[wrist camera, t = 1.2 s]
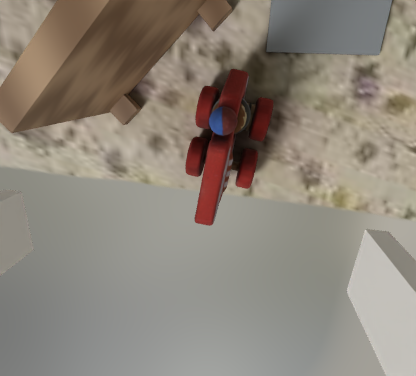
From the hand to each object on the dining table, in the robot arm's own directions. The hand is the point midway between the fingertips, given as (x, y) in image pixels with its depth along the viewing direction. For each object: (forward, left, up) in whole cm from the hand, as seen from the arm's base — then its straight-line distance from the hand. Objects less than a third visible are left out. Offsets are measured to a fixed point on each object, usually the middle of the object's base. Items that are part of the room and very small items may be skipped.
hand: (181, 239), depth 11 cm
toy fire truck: (-1, 0, -21) cm, 21 cm away
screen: (-9, -8, -21) cm, 24 cm away
